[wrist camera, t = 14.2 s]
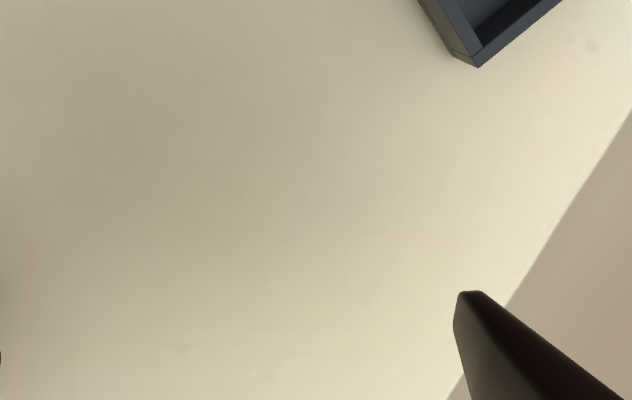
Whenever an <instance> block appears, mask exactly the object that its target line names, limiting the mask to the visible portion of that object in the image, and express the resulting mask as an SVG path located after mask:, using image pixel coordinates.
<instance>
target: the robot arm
mask: <svg viewBox="0 0 632 400" xmlns="http://www.w3.org/2000/svg"><path fill="white" fill-rule="evenodd" d="M453 331H454V336H455V340H456V343H457V347H458V351H459V354H460V358H461V362H462V366H463V369H464V373H465V377H466V380H467V384H468V388H469V392H470V395H471V399H472V400H624V399H622V398H621V397H620V396H618V395H617V394H616V393H615V392H613V391H612V390H610V389H609V388H608V387H607V386H605V385H604V384H603V383H601V382H600V381H599V380H598V379H596V378H595V377H594V376H592V375H591V374H590V373H588V372H587V371H586V370H584V369H583V368H582V367H580V366H579V365H578V364H577V363H575V362H574V361H573V360H571V359H570V358H569V357H567V356H566V355H565V354H564V353H562V352H561V351H560V350H558V349H557V348H556V347H554V346H553V345H552V344H550V343H549V342H548V341H546V340H545V339H544V338H543V337H541V336H540V335H539V334H537V333H536V332H535V331H533V330H532V329H531V328H529V327H528V326H527V325H526V324H524V323H523V322H521V321H520V320H519V319H518V318H516V317H515V316H514V315H512V314H511V313H510V312H508V311H507V310H506V309H505V308H503V307H502V306H501V305H499V304H498V303H497V302H495V301H494V300H493V299H491V298H490V297H489V296H487V295H486V294H485V293H483V292H482V291H478V290H475V291H462V292H460V293H459V295H458V298H457V303H456V308H455V313H454V318H453ZM0 363H1V352H0Z"/></svg>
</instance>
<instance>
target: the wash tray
mask: <svg viewBox="0 0 632 400" xmlns="http://www.w3.org/2000/svg"><path fill="white" fill-rule="evenodd" d="M418 1H419V3H420V4H421V6H422V7H423V9H424V11H425V12H426V14H427V16H428V17H429V19H430V20H431V22H432V24H433V25H434V27H435V29H436V30H437V32H438V33H439V35H440V37H441V38H442V40H443V42H444V43H445V45H446V46H447V48H448V50H449V51H450V53H451V55H452V56H453V57H455V58H457V59H459V60H461V61H464V62H466V63H468V64H470V65H472V66H474V67H476V68H479V67H481V66H482V65H483V64H484V63H486V62H487V61H488V60H489V59H490V58H492V57H493V56H494V55H495V54H497V53H498V52H499V51H500V50H502V49H503V48H504V47H505V46H506V45H508V44H509V43H510V42H511V41H513V40H514V39H515V38H516V37H518V36H519V35H520V34H521V33H522V32H524V31H525V30H526V29H527V28H529V27H530V26H531V25H532V24H534V23H535V22H536V21H537V20H539V19H540V18H541V17H542V16H543V15H545V14H546V13H547V12H548V11H550V10H551V9H552V8H553V7H555V6H556V5H557V4H558V3H559V2H561V1H562V0H418Z"/></svg>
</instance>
